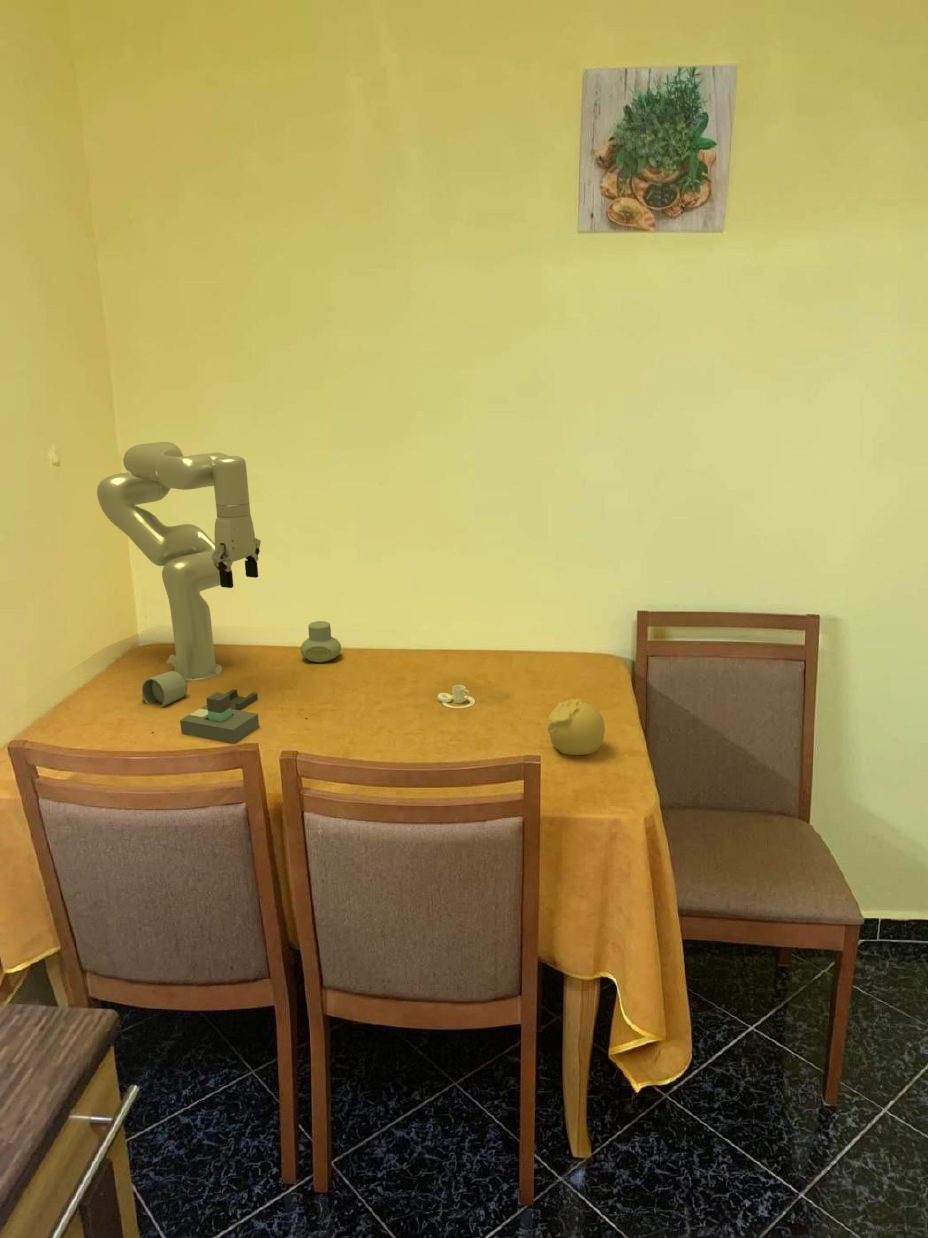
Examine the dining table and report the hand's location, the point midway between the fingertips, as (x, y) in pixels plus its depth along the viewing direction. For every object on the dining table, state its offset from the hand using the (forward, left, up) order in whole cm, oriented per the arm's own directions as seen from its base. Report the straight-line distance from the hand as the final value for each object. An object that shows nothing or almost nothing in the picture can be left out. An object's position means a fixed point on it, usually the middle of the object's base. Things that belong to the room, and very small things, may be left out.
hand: (239, 582), depth 206 cm
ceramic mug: (-16, -13, -29) cm, 35 cm away
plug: (+8, -22, -27) cm, 36 cm away
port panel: (+8, -22, -28) cm, 37 cm away
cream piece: (+48, +16, -29) cm, 59 cm away
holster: (+2, -8, -28) cm, 29 cm away
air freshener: (+4, +27, -29) cm, 40 cm away
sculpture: (+83, -1, -29) cm, 88 cm away
